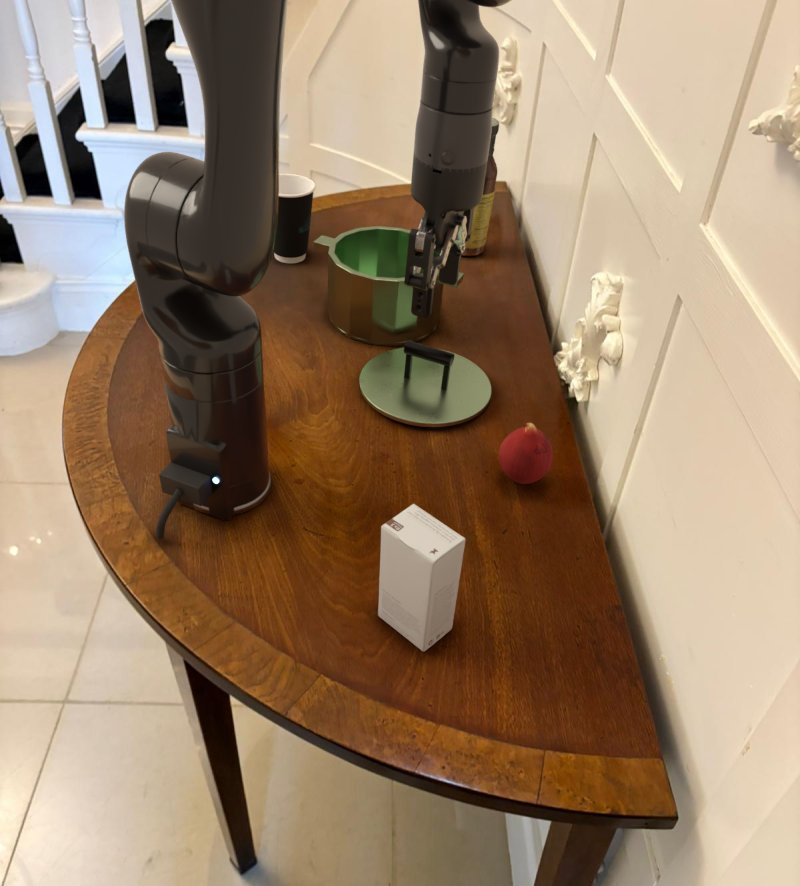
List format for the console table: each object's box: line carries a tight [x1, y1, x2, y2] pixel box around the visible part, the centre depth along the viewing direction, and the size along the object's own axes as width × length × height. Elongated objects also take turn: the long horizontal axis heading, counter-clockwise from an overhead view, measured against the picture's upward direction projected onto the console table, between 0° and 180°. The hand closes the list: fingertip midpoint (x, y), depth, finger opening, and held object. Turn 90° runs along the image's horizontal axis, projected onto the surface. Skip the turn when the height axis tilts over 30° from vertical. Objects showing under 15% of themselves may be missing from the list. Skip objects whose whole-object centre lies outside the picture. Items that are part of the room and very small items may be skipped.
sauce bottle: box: [460, 117, 500, 257], centre depth 121 cm, size 7×6×20 cm
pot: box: [313, 225, 465, 347], centre depth 108 cm, size 16×21×10 cm
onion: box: [498, 422, 554, 485], centre depth 85 cm, size 6×6×8 cm
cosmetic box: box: [377, 503, 466, 652], centre depth 68 cm, size 6×4×12 cm
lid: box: [358, 340, 492, 428], centre depth 97 cm, size 17×17×6 cm
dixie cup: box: [273, 173, 317, 264], centre depth 118 cm, size 8×8×11 cm
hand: (434, 298), depth 90 cm, fingers open, 8 cm apart
